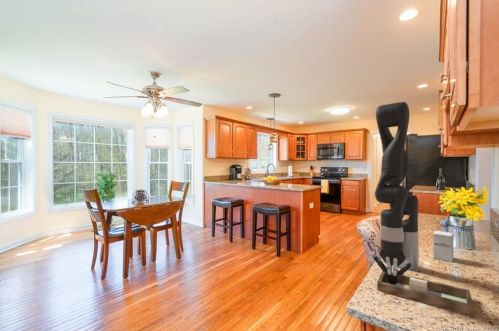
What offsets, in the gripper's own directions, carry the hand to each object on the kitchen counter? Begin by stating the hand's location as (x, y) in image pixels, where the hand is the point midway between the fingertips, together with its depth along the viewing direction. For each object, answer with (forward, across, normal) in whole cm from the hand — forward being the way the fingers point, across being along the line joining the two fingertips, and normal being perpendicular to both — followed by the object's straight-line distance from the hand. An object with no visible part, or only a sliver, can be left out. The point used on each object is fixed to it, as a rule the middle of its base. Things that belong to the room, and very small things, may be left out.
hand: (392, 284), depth 90 cm
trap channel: (+2, -9, 0) cm, 9 cm away
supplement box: (+2, -16, -48) cm, 51 cm away
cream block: (+1, -8, 0) cm, 8 cm away
